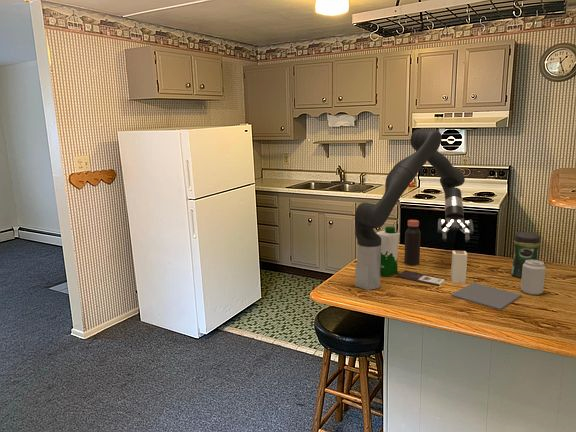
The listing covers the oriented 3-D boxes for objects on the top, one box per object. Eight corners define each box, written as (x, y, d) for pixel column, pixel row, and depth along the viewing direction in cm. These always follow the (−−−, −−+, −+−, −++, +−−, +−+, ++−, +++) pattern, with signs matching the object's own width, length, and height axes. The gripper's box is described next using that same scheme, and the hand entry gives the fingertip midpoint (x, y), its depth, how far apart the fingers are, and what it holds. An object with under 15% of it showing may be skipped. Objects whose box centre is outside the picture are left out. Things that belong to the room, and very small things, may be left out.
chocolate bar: (405, 270, 191) (446, 278, 179) (405, 272, 191) (446, 281, 180) (395, 275, 184) (438, 285, 173) (395, 278, 184) (438, 287, 173)
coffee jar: (537, 274, 184) (541, 231, 180) (537, 280, 177) (541, 235, 173) (511, 271, 188) (515, 229, 185) (510, 277, 181) (514, 233, 178)
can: (531, 296, 160) (534, 265, 158) (515, 289, 168) (518, 259, 165) (547, 294, 162) (551, 263, 160) (531, 287, 169) (534, 257, 167)
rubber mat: (500, 310, 149) (500, 308, 149) (450, 296, 163) (450, 294, 162) (521, 296, 161) (521, 294, 161) (473, 284, 174) (473, 282, 174)
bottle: (401, 262, 203) (402, 220, 199) (412, 260, 206) (413, 218, 202) (411, 266, 197) (413, 223, 193) (422, 264, 200) (424, 221, 196)
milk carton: (400, 273, 188) (402, 228, 184) (386, 278, 183) (388, 231, 179) (384, 268, 195) (385, 225, 191) (370, 273, 189) (371, 228, 185)
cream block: (465, 283, 175) (467, 253, 173) (452, 282, 176) (454, 253, 174) (463, 279, 180) (465, 250, 177) (450, 278, 181) (452, 249, 179)
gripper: (438, 204, 192) (439, 235, 183) (472, 204, 189) (475, 237, 180) (436, 213, 198) (437, 244, 189) (469, 214, 195) (472, 246, 186)
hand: (456, 241), depth 185 cm, fingers open, 8 cm apart
